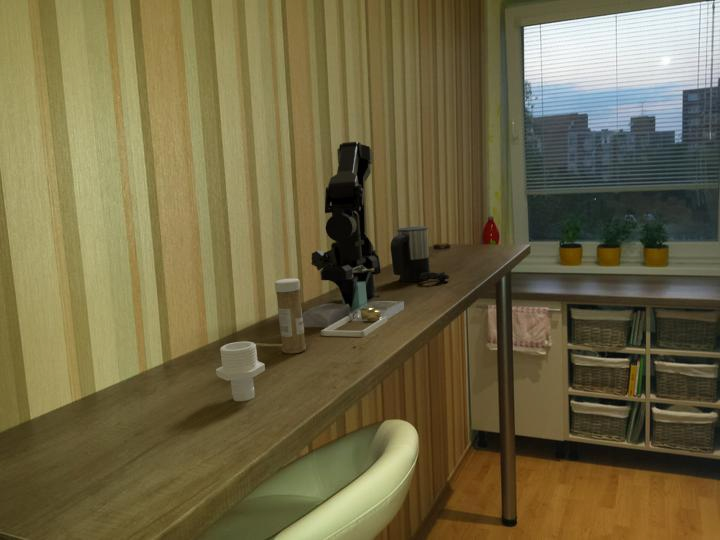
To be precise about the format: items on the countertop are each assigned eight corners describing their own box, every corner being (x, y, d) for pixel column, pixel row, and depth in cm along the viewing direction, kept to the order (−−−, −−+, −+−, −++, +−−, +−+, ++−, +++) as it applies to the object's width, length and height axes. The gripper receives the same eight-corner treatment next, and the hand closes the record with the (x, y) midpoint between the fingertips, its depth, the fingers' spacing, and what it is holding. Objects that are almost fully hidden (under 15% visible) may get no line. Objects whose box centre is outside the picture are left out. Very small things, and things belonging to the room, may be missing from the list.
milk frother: (405, 276, 193) (401, 226, 191) (457, 275, 187) (454, 224, 185) (389, 286, 180) (385, 232, 178) (445, 285, 174) (441, 229, 172)
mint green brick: (351, 311, 152) (348, 281, 151) (367, 311, 150) (365, 281, 149) (343, 315, 148) (340, 284, 147) (360, 315, 146) (357, 284, 145)
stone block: (292, 338, 139) (333, 329, 135) (286, 316, 139) (327, 307, 135) (316, 326, 150) (355, 318, 146) (311, 306, 149) (349, 297, 146)
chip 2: (370, 317, 141) (369, 309, 141) (383, 317, 140) (382, 309, 140) (365, 320, 138) (364, 312, 138) (378, 320, 137) (377, 312, 137)
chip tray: (347, 322, 140) (347, 316, 140) (387, 323, 137) (386, 316, 136) (321, 337, 129) (320, 330, 129) (363, 339, 125) (363, 331, 125)
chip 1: (364, 314, 144) (363, 306, 144) (377, 315, 143) (376, 306, 143) (359, 318, 141) (358, 309, 141) (371, 318, 140) (371, 310, 140)
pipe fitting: (234, 409, 93) (228, 355, 92) (214, 397, 99) (208, 346, 98) (274, 397, 97) (268, 345, 95) (252, 386, 102) (246, 337, 101)
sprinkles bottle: (310, 350, 120) (303, 279, 118) (287, 356, 118) (279, 283, 116) (300, 346, 124) (293, 276, 122) (278, 350, 122) (270, 280, 120)
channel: (371, 309, 151) (370, 301, 150) (404, 310, 147) (403, 301, 147) (349, 322, 140) (348, 313, 140) (384, 323, 137) (383, 313, 136)
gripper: (334, 233, 158) (339, 296, 160) (295, 243, 141) (302, 313, 144) (376, 231, 154) (381, 296, 156) (342, 241, 137) (348, 314, 139)
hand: (353, 304), depth 149 cm, fingers closed on mint green brick, 4 cm apart
